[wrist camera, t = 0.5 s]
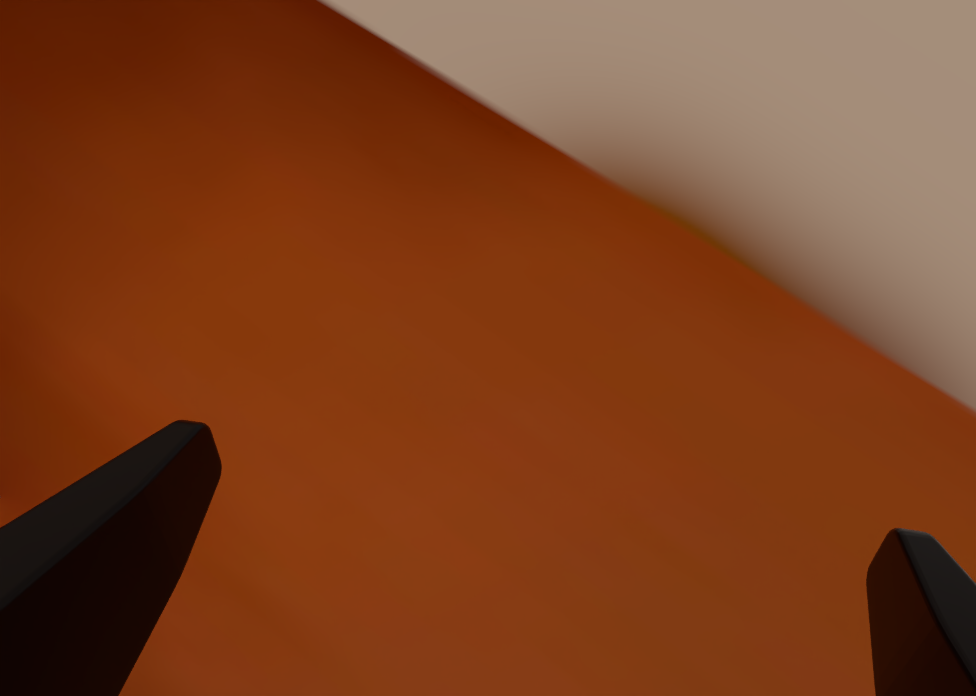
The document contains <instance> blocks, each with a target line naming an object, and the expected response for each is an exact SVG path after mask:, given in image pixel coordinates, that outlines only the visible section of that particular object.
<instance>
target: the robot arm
mask: <svg viewBox="0 0 976 696" xmlns="http://www.w3.org/2000/svg"><path fill="white" fill-rule="evenodd" d="M221 469H222V466H221V460H220V457H219V454H218V451H217V448H216V445H215V441H214V438H213V435H212V432H211V430H210V428H209V427H208V426H207V425H206V424H205V423H201V422H195V421H188V420H178V421H175V422H173V423H171V424H169V425H168V426H166V427H164V428H163V429H161V430H159V431H158V432H156V433H155V434H153V435H151V436H150V437H148V438H146V439H145V440H143V441H141V442H140V443H138V444H137V445H135V446H133V447H132V448H130V449H128V450H127V451H125V452H124V453H122V454H120V455H119V456H117V457H115V458H114V459H112V460H110V461H109V462H107V463H106V464H104V465H102V466H101V467H99V468H97V469H96V470H94V471H93V472H91V473H89V474H88V475H86V476H84V477H83V478H81V479H80V480H78V481H76V482H75V483H73V484H71V485H70V486H68V487H66V488H65V489H63V490H62V491H60V492H58V493H57V494H55V495H53V496H52V497H50V498H49V499H47V500H45V501H44V502H42V503H40V504H39V505H37V506H35V507H34V508H32V509H31V510H29V511H27V512H26V513H24V514H22V515H21V516H19V517H18V518H16V519H14V520H13V521H11V522H9V523H8V524H6V525H4V526H3V527H1V528H0V696H118V695H119V694H120V692H121V690H122V688H123V686H124V684H125V682H126V680H127V678H128V676H129V675H130V673H131V671H132V669H133V667H134V665H135V663H136V661H137V659H138V657H139V655H140V654H141V652H142V650H143V648H144V646H145V644H146V642H147V640H148V638H149V636H150V635H151V633H152V631H153V629H154V627H155V625H156V623H157V621H158V619H159V617H160V615H161V614H162V612H163V610H164V608H165V606H166V604H167V602H168V600H169V598H170V596H171V595H172V593H173V591H174V589H175V587H176V585H177V583H178V581H179V579H180V577H181V574H182V572H183V570H184V567H185V565H186V563H187V561H188V558H189V556H190V553H191V550H192V548H193V545H194V543H195V540H196V538H197V535H198V533H199V530H200V528H201V525H202V523H203V520H204V518H205V515H206V513H207V510H208V508H209V505H210V502H211V500H212V497H213V495H214V492H215V490H216V487H217V485H218V482H219V479H220V476H221ZM866 586H867V599H868V611H869V623H870V635H871V647H872V659H873V671H874V684H875V693H876V696H976V583H975V582H974V581H973V580H972V579H971V578H970V577H969V575H968V574H967V573H966V572H965V571H964V570H963V569H962V568H961V567H960V565H959V564H958V563H957V562H956V561H955V560H954V559H953V558H952V556H951V555H950V554H949V553H948V552H947V551H946V550H945V549H944V548H943V546H942V545H941V544H940V543H939V542H938V541H937V540H936V539H935V538H934V537H933V536H931V535H930V534H928V533H926V532H921V531H915V530H908V529H902V528H894V529H892V530H891V531H889V533H888V534H887V535H886V537H885V539H884V541H883V542H882V544H881V546H880V548H879V549H878V551H877V553H876V555H875V556H874V558H873V560H872V562H871V564H870V566H869V568H868V572H867V579H866Z"/></svg>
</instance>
